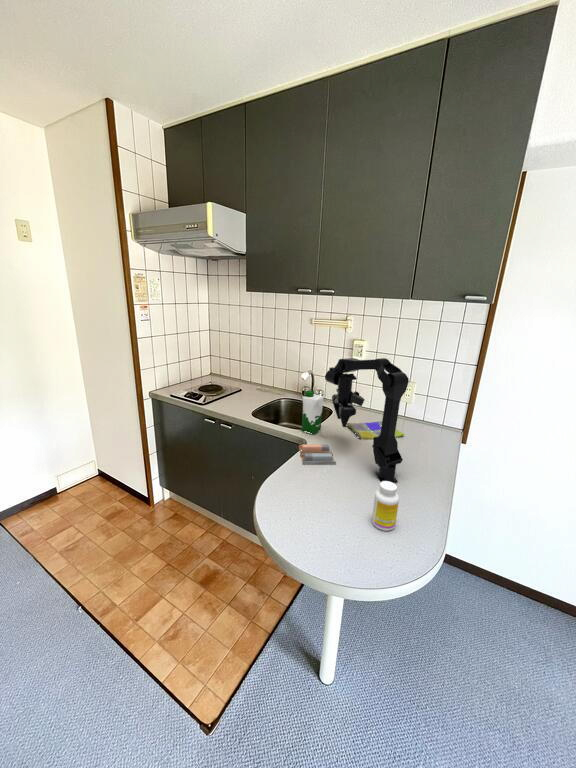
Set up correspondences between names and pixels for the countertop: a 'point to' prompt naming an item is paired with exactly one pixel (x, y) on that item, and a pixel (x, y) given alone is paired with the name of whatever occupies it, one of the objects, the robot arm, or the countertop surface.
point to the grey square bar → (318, 457)
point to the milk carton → (312, 412)
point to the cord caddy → (316, 461)
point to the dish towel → (369, 430)
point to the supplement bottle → (385, 506)
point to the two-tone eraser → (315, 447)
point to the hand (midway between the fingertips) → (341, 422)
